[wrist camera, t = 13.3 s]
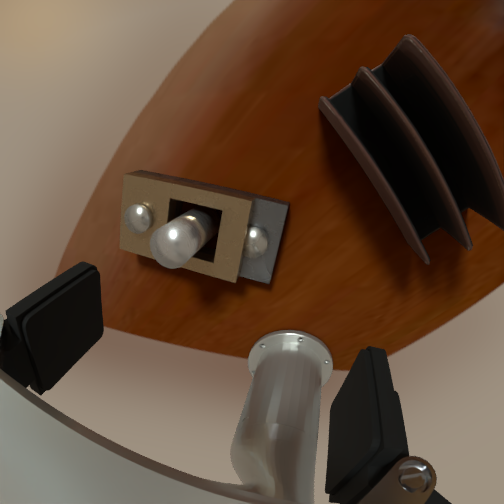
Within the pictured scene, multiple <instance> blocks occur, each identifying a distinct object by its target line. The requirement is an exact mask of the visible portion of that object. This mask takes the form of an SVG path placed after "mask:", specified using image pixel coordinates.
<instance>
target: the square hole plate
mask: <svg viewBox="0 0 504 504" xmlns="http://www.w3.org/2000/svg"><path fill="white" fill-rule="evenodd" d="M182 201H185V202H189V203H194V204H198V205H202V206H207V207H211V208H215V209H219V210H223V211H222V217H221V222H220V228H219V234H218V240H217V246H216V249H212V248H208V247H205V246H203V247H202V248H201V249H200V250H199V251H197V252H196V253H195V254H194V255H193V256H192V257H191V258H190V259H189V260H188V261H187V262H186V263H185V264H184V265H182V266H181V267H182V268H185V269H188V270H192V271H195V272H199V273H202V274H206V275H209V276H212V277H216V278H219V279H223V280H227V281H230V282H234V283H236V282H237V280H238V278H239V277H240V276H241V277H245V278H248V279H252V280H256V281H259V282H263V283H267V284H269V283H270V280H271V277H272V273H273V269H274V265H275V261H276V257H277V253H278V249H279V245H280V241H281V237H282V233H283V228H284V224H285V220H286V216H287V212H288V207H289V203H290V202H286V201H282V200H278V199H274V198H270V197H266V196H261V195H257V194H253V193H249V192H244V191H240V190H236V189H231V188H227V187H222V186H218V185H213V184H208V183H204V182H199V181H194V180H189V179H184V178H180V177H174V176H169V175H164V174H159V173H154V172H148V171H143V170H139V171H135V172H130V173H126V174H124V180H123V192H122V206H121V225H120V249H123V250H126V251H129V252H132V253H136V254H139V255H142V256H145V257H149V258H152V259H155V258H154V257H153V255H152V252H151V249H150V239H151V236H152V234H153V233H154V232H155V231H156V230H157V229H158V228H160V227H162V226H164V225H165V224H167V223H169V222H170V221H172V220H174V219H175V218H177V217H179V216H180V215H181V209H182ZM155 260H156V259H155Z"/></svg>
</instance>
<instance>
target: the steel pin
mask: <svg viewBox="0 0 504 504" xmlns="http://www.w3.org/2000/svg"><path fill="white" fill-rule="evenodd" d="M219 228H220V217H219V215H218V213H217V212H216V211H215V210H214V209H213V208H211V207H207V206H202V205H199V206H196V207H194V208H193V209H191V210H189V211H187V212H186V213H184V214H182V215H180V216H179V217H177V218H175V219H174V220H172V221H170V222H169V223H167V224H165V225H164V226H162V227H160V228H158V229H157V230H156V231H155V232H154V233H153V234H152V236H151V239H150V249H151V252H152V255H153V257H154V258H155V259H156V261H157V262H158V263H159V264H161V265H162V266H164V267H167V268H171V269H175V268H179V267H181V266H182V265H184V264H185V263H186V262H187V261H188V260H189V259H190V258H191V257H192V256H193V255H194V254H195V253H196V252H197V251H199V250H200V249H201V248H202V247H203V246H204V245H205V244H206V243H207V242H208V241H209V240H210V239H211V238H212V237H214V236H215V235H216V234H217V232H218V231H219Z"/></svg>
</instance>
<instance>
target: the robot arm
mask: <svg viewBox="0 0 504 504" xmlns="http://www.w3.org/2000/svg"><path fill="white" fill-rule="evenodd" d="M6 315H7V319H6V320H4V319H3V316H2V315H1V314H0V504H314V474H315V461H316V451H317V440H318V427H319V414H320V399H321V387H322V386H324V385H325V384H326V383H327V381H328V380H329V378H330V376H331V373H332V369H333V360H332V356H331V353H330V351H329V349H328V348H327V346H326V345H325V344H324V343H323V342H322V341H320V340H319V339H318V338H316V337H314V336H312V335H310V334H308V333H305V332H301V331H295V330H281V331H276V332H272V333H269V334H267V335H265V336H263V337H262V338H260V339H259V340H258V341H257V342H256V343H255V344H254V345H253V347H252V349H251V351H250V354H249V357H248V368H249V371H250V373H251V375H252V377H253V380H252V383H251V386H250V389H249V392H248V395H247V398H246V401H245V405H244V408H243V411H242V414H241V417H240V420H239V423H238V426H237V429H236V432H235V435H234V438H233V442H232V445H231V451H230V455H231V462H232V465H233V467H234V469H235V471H236V473H237V475H238V476H239V478H240V480H241V481H242V483H243V485H237V484H230V483H227V484H226V483H221V482H216V481H211V480H207V479H202V478H199V477H196V476H193V475H190V474H187V473H184V472H182V471H179V470H176V469H174V468H171V467H168V466H166V465H163V464H161V463H159V462H156V461H154V460H151V459H149V458H147V457H145V456H142V455H140V454H138V453H136V452H133V451H131V450H129V449H127V448H125V447H123V446H121V445H119V444H117V443H115V442H113V441H111V440H109V439H107V438H105V437H103V436H101V435H99V434H97V433H95V432H94V431H92V430H90V429H88V428H87V427H85V426H83V425H81V424H80V423H78V422H76V421H75V420H73V419H71V418H70V417H68V416H66V415H64V414H63V413H62V412H60V411H58V410H57V409H55V408H54V407H52V406H50V405H49V404H48V403H46V402H45V401H43V400H41V399H40V398H39V397H37V396H36V395H35V394H33V393H32V392H30V391H29V390H28V389H26V388H27V387H28V386H29V385H30V387H31V389H32V390H34V391H35V392H37V393H38V394H39V395H42V394H43V393H44V392H45V391H46V390H50V389H51V388H52V387H53V386H54V385H55V384H56V383H57V382H58V381H59V380H60V379H61V378H62V377H63V376H64V375H65V374H66V373H67V372H68V371H69V370H70V369H71V368H72V366H73V365H74V364H75V363H76V362H77V361H78V360H79V359H80V358H81V357H82V356H83V355H84V354H85V353H86V352H87V351H88V350H89V349H90V348H91V347H92V346H93V345H94V344H95V343H96V342H97V341H98V340H99V339H100V338H101V337H102V335H103V331H104V328H103V317H102V303H101V286H100V273H99V272H98V270H97V267H96V266H94V265H91V264H89V263H86V262H80V263H78V264H77V265H75V266H73V267H72V268H70V269H69V270H67V271H65V272H64V273H62V274H61V275H59V276H57V277H56V278H54V279H53V280H51V281H50V282H48V283H46V284H45V285H43V286H42V287H40V288H39V289H37V290H36V291H34V292H33V293H31V294H30V295H28V296H27V297H25V298H24V299H22V300H21V301H19V302H18V303H16V304H15V305H13V306H12V307H10V308H9V309H8V310H6ZM436 480H437V477H436V473H435V470H434V469H433V467H432V465H431V464H430V463H429V462H428V461H426V460H424V459H422V458H420V457H416V456H409V451H408V445H407V438H406V432H405V426H404V420H403V415H402V409H401V404H400V400H399V395H398V393H397V392H396V391H394V388H393V383H392V379H391V373H390V369H389V364H388V359H387V355H386V351H385V350H384V349H380V348H375V347H371V346H369V347H367V348H366V350H364V349H362V350H361V351H360V352H359V354H358V356H357V358H356V360H355V362H354V364H353V366H352V368H351V370H350V372H349V373H348V375H347V377H346V379H345V381H344V383H343V385H342V387H341V388H340V390H339V392H338V394H337V396H336V397H335V399H334V401H333V403H332V405H331V409H330V425H329V444H328V459H327V473H326V484H325V493H327V494H330V496H329V502H331V503H340V504H451V503H450V502H449V501H448V500H446V499H445V498H444V497H443V496H442V495H440V494H439V493H438V492H437V491H436V490H434V488H435V486H436Z"/></svg>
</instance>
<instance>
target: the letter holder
mask: <svg viewBox="0 0 504 504" xmlns="http://www.w3.org/2000/svg"><path fill="white" fill-rule="evenodd" d="M318 107H319V109H320V110H321V111H322V113H323V114H324V115H325V117H326V118H327V119H328V120H329V122H330V123H331V125H332V126H333V127H334V129H335V130H336V131H337V133H338V134H339V135H340V137H341V138H342V140H343V141H344V142H345V144H346V145H347V147H348V148H349V149H350V151H351V152H352V154H353V155H354V157H355V158H356V160H357V161H358V163H359V164H360V165H361V167H362V168H363V170H364V171H365V173H366V175H367V176H368V178H369V179H370V181H371V182H372V184H373V186H374V187H375V189H376V190H377V192H378V193H379V195H380V197H381V198H382V200H383V202H384V203H385V205H386V207H387V208H388V210H389V211H390V213H391V215H392V217H393V218H394V220H395V222H396V223H397V225H398V227H399V229H400V230H401V232H402V234H403V236H404V238H405V239H406V241H407V243H408V244H409V245H410V247H411V248H412V249H413V250H414V251H415V252H416V253H417V254H418V255H419V257H420V258H421V259H422V260H423V261H424V262H425V263H426V264H427V265H429V264H430V258H429V256H428V254H427V252H426V250H425V248H424V246H423V244H422V242H421V240H423V239H424V238H426V237H427V236H428V235H430V234H431V233H433V232H435V231H436V230H438V229H439V228H442V229H443V230H445V231H446V232H447V233H448V234H450V235H451V236H452V237H453V238H454V239H456V240H457V241H458V242H459V243H460V244H461V245H463V246H464V247H465V248H466V249H467V250H471V249H472V246H473V245H472V241H471V238H470V236H469V233H468V230H467V227H466V224H465V222H464V220H463V217H462V215H461V213H462V212H463V211H465V210H466V209H468V208H470V209H472V210H474V211H475V212H477V213H478V214H480V215H482V216H483V217H485V218H486V219H488V220H489V221H491V222H492V223H494V224H495V225H496V226H498V227H499V228H501V229H502V230H504V179H503V177H502V174H501V171H500V169H499V166H498V164H497V161H496V159H495V157H494V155H493V152H492V150H491V148H490V146H489V144H488V142H487V140H486V138H485V136H484V134H483V132H482V130H481V128H480V127H479V125H478V123H477V121H476V119H475V118H474V116H473V114H472V112H471V111H470V109H469V108H468V106H467V104H466V103H465V101H464V99H463V98H462V96H461V95H460V93H459V92H458V90H457V89H456V87H455V86H454V84H453V83H452V81H451V80H450V78H449V77H448V76H447V74H446V73H445V71H444V70H443V69H442V67H441V66H440V65H439V64H438V62H437V61H436V60H435V59H434V57H433V56H432V55H431V54H430V53H429V51H428V50H427V49H426V48H425V47H424V45H423V44H422V43H421V42H420V41H419V40H418V39H417V38H416V37H414V36H413V35H411V34H407V35H405V36H404V37H403V38H402V39H401V40H400V42H399V43H398V45H397V46H396V47H395V48H394V50H393V51H392V52H391V53H390V54H389V56H388V57H387V58H386V59H385V61H384V62H383V63H382V64H381V65H379V66H377V67H376V68H374V69H373V70H370V69H369V68H368V67H366V68H365V67H360V68H359V70H358V72H357V74H356V76H355V78H354V79H353V81H352V83H351V84H349V85H347V86H346V87H345V88H343V89H342V90H340V91H339V92H338V93H336V94H335V95H333V96H332V97H330V98H327V97H323V96H322V97H320V100H319V105H318Z"/></svg>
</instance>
